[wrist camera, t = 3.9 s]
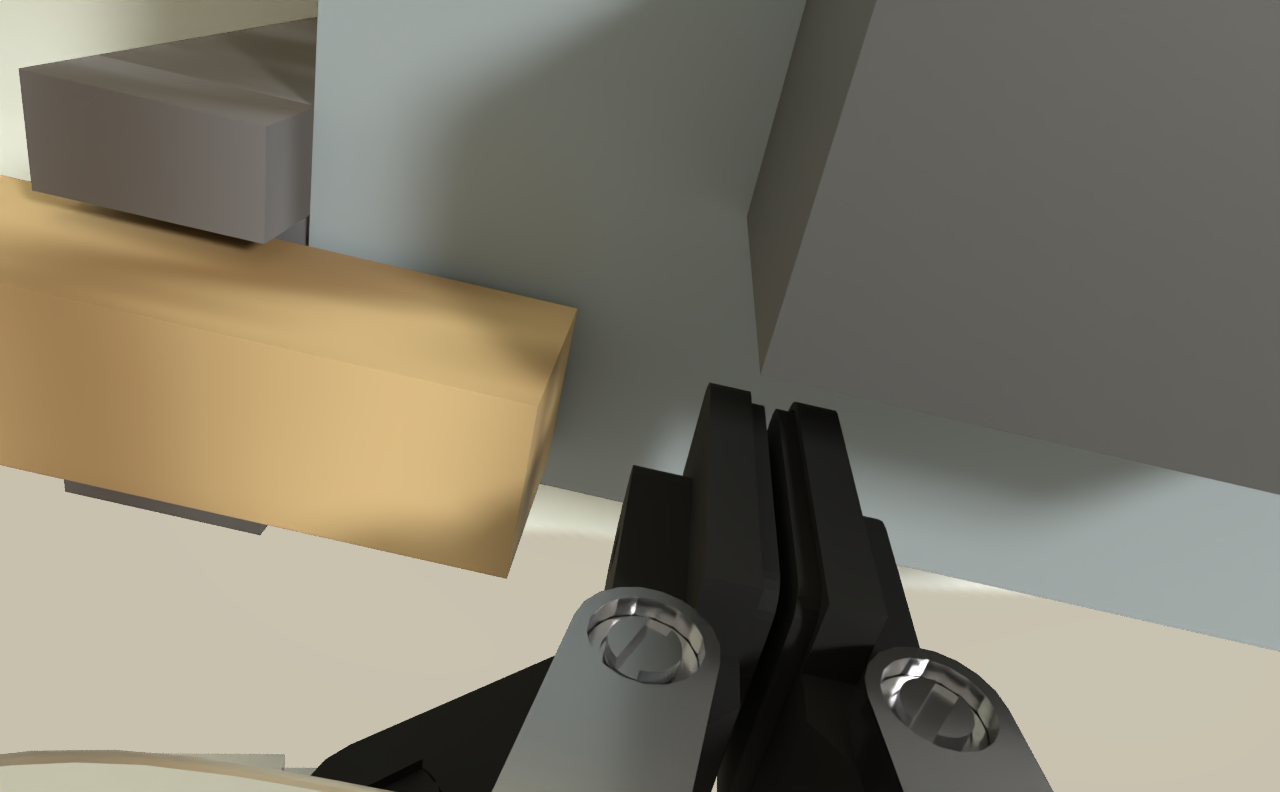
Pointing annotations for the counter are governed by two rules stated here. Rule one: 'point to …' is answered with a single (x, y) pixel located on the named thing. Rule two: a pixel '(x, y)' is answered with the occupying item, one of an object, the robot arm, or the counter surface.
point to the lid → (872, 254)
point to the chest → (183, 147)
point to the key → (274, 381)
